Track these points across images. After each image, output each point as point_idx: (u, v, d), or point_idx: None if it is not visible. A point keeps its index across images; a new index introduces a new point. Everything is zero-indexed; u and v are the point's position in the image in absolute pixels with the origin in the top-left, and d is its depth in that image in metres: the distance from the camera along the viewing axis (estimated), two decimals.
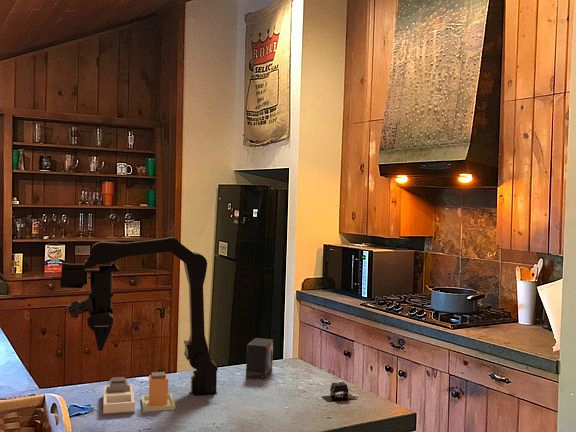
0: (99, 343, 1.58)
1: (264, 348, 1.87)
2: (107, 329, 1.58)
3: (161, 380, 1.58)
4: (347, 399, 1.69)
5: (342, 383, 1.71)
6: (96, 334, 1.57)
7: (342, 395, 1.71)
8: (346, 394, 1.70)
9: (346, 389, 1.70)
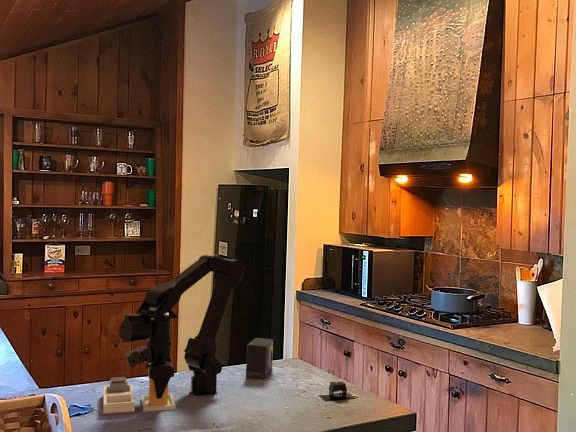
0: (158, 391, 1.57)
1: (264, 348, 1.87)
2: (167, 377, 1.56)
3: None
4: (345, 398, 1.70)
5: (341, 382, 1.72)
6: (156, 382, 1.56)
7: (340, 394, 1.72)
8: (344, 393, 1.71)
9: (344, 388, 1.70)
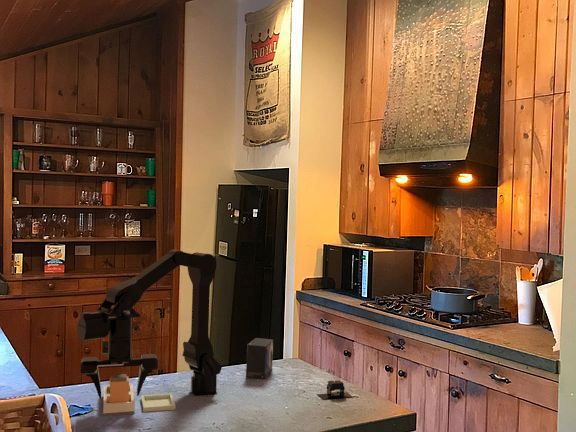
0: None
1: (264, 348, 1.87)
2: None
3: (110, 381, 1.54)
4: (343, 397, 1.71)
5: (338, 381, 1.73)
6: None
7: (338, 393, 1.73)
8: (342, 392, 1.72)
9: (342, 387, 1.71)
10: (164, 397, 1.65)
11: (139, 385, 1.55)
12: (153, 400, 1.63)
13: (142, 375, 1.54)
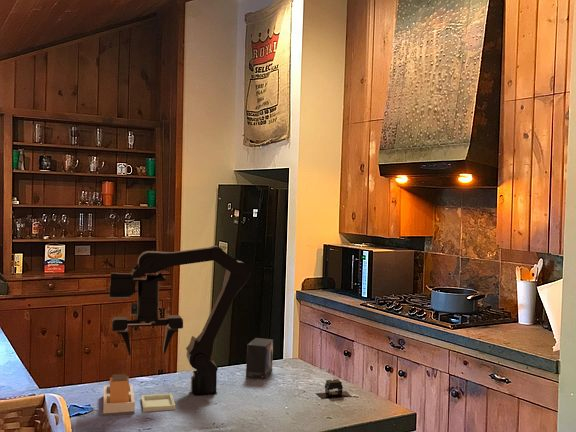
0: None
1: (264, 348, 1.87)
2: None
3: (110, 381, 1.54)
4: (341, 396, 1.72)
5: (336, 380, 1.74)
6: None
7: (336, 392, 1.73)
8: (340, 391, 1.73)
9: (340, 386, 1.72)
10: (164, 397, 1.65)
11: (166, 343, 1.67)
12: (153, 400, 1.63)
13: (168, 334, 1.66)
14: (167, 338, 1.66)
